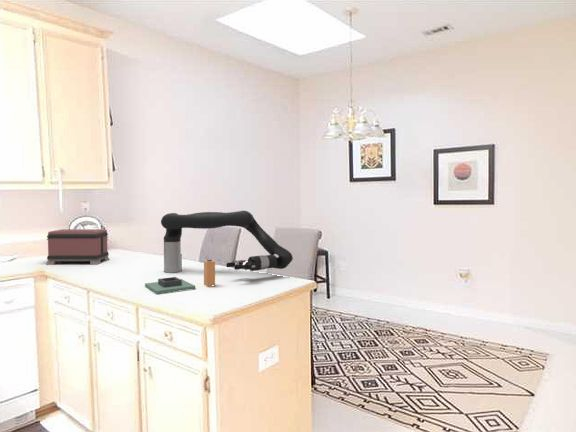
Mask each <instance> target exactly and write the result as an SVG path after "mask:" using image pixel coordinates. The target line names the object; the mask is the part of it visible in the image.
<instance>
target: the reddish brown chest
mask: <svg viewBox="0 0 576 432" xmlns="http://www.w3.org/2000/svg"><path fill="white" fill-rule="evenodd" d="M46 238H47V239H46V241H47V257H46V259H47V262H46V263H45V265H46V266H54V265H57V264H58V263H59V262H90V263H89V264H90V266H99V265H101V264H102V262H108V261H110V258H109V251H108V230H107V229H105V228H104V229H103V228H101V229H98V228H97V229H94V228H93V229H89V228H88V229H87V228H86V229H85V228H84V229H80V228H77V229H75V228H74V229H73V228H72V229H68V228H64V229H62V228H61V229H56V230H50V231H48V232H47V236H46Z"/></svg>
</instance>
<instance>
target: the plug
mask: <svg viewBox="0 0 576 432" xmlns="http://www.w3.org/2000/svg"><path fill="white" fill-rule="evenodd" d="M204 285H206V286H211V287H213V286H212V285H215V286H216V261H215V260H212V259H206V260H204V261H203V286H204ZM206 286H205V287H206Z"/></svg>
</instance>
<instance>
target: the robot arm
mask: <svg viewBox="0 0 576 432" xmlns="http://www.w3.org/2000/svg"><path fill="white" fill-rule="evenodd" d="M160 224H161V226H162V227H163V228H164V229H165V233H164V236H163V272H164V273H180V272H181V271H183V263H182V262H183V259H182V258H183V255H182V251H181V250H182V248H181V246H182V245H181V242H182V241H181V239H182V234H183V229H198V230H199V229H200V230H201V229H203V230H205V229H209V230H210V229H216V228H217V229H218V228H222V227H241V228H243V229H245V230H246V231H248V232H249V233H250V234H251V235H252V236H253V237H254V238H255V239H256V241H257V242H258V243H259V245H260V246H261V247H263V249H264V251H266V252H267V253H268V255H267V254H266V255H254V256H253V255H252V256H249V257H248V258H247V259H240V260H232V261H231V262H226V264H225V265H226V268H232V267H234V269H233V270H234V271H237V270H245V271H248V270H249V271H251V272H256V271H263V270H267V269H278V270H283V269H286V268H287V267H288V266H289V265H290V263H291V262H292V261H293V259H294V257H293V255H292V253H291V252H290V251H289V250H288V249H286V248H285V247H282V246H281V245H280V244H278V242H277V241H275V240H274V239H273V237H271V235H270V234H269V233H267V232H266V231H265V230H264V229H263V228H262V227H261V225H260V224H258V222H257V221H256V219H255V217H254V216H253V214H252V213H251V212H249V211H247V210H238V211H232V212H231V211H230V212H216V211H206V212H195V213H188V214H178V213H176V212H171V213H167V214H164V215H163V216H162V217H161V220H160ZM276 255H277V256H278V257H277V256H276Z"/></svg>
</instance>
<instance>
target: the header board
mask: <svg viewBox="0 0 576 432" xmlns="http://www.w3.org/2000/svg"><path fill="white" fill-rule="evenodd" d="M144 287H145V288H146V289H148V290H149V291H151V292H153V293H154V294H155V295H163V294H162V293H164V294H169V293H168V292H171V293H174V292H173V291H178V292H180V291H179V290H185V291H187V290H186V289H192V290H196V285H194V284H192V283H190V282H189V281H187V280H184V279H183V278H178V277H176V276H172V277H170V276H169V277H163V278H158V279H157V281H155V282H146V283H144Z"/></svg>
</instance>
